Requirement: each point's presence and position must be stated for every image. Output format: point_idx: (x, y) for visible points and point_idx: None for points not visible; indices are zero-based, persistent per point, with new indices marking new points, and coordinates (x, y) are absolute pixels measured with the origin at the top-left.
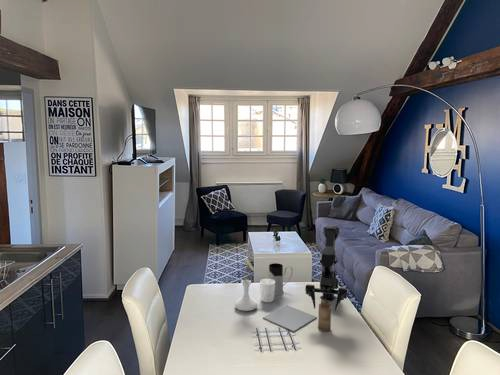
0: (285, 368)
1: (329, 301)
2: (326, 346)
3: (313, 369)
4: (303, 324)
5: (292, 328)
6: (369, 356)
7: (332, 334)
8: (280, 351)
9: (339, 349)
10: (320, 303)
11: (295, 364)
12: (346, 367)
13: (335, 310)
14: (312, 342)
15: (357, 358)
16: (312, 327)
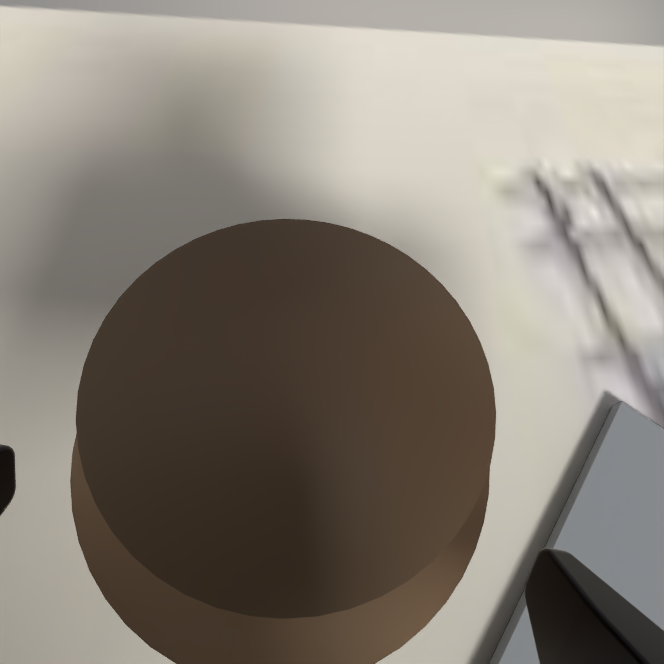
0: (552, 49)
1: (85, 374)
2: (308, 206)
3: (409, 36)
4: None
5: (651, 453)
6: (4, 103)
7: None
8: (625, 162)
9: (210, 173)
10: (441, 603)
11: (508, 68)
12: (219, 36)
13: (6, 451)
14: (420, 254)
15: (110, 90)
16: None
